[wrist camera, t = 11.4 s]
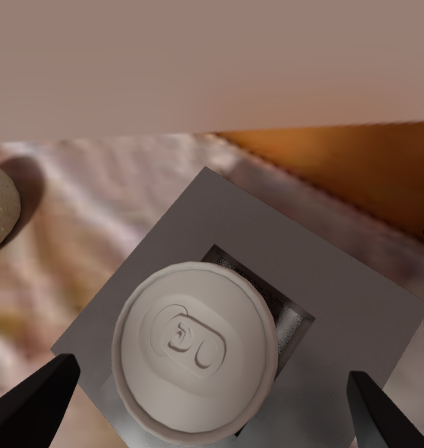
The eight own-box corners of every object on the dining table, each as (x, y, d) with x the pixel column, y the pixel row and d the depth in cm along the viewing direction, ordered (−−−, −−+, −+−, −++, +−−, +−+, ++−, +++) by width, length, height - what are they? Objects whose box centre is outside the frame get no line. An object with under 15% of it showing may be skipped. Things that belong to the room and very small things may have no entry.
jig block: (257, 533, 14) (257, 606, 11) (89, 343, 19) (50, 349, 16) (393, 308, 17) (430, 304, 13) (214, 192, 22) (205, 166, 18)
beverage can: (217, 281, 19) (163, 230, 8) (278, 314, 18) (311, 306, 7) (185, 343, 18) (73, 380, 7) (247, 384, 17) (226, 506, 6)
